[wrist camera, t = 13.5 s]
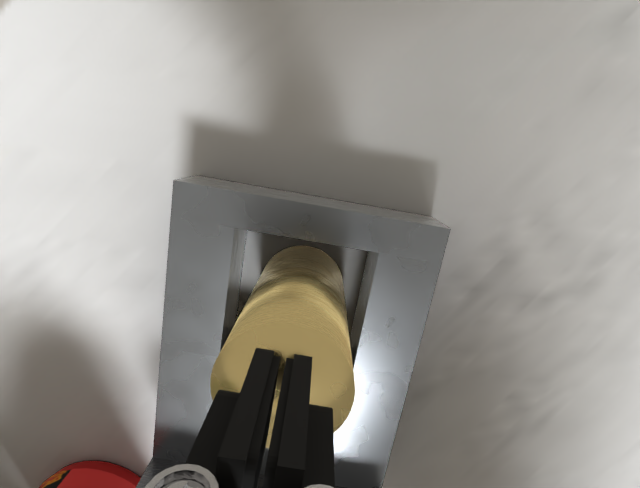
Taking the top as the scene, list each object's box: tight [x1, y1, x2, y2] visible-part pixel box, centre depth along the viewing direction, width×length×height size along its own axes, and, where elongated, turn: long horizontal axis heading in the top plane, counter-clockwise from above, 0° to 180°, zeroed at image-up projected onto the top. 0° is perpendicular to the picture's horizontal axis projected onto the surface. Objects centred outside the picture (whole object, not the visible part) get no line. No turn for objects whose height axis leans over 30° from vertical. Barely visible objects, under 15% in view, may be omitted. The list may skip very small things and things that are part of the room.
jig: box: [136, 175, 451, 488], centre depth 18 cm, size 12×16×5 cm
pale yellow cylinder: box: [210, 245, 355, 448], centre depth 16 cm, size 4×4×9 cm
